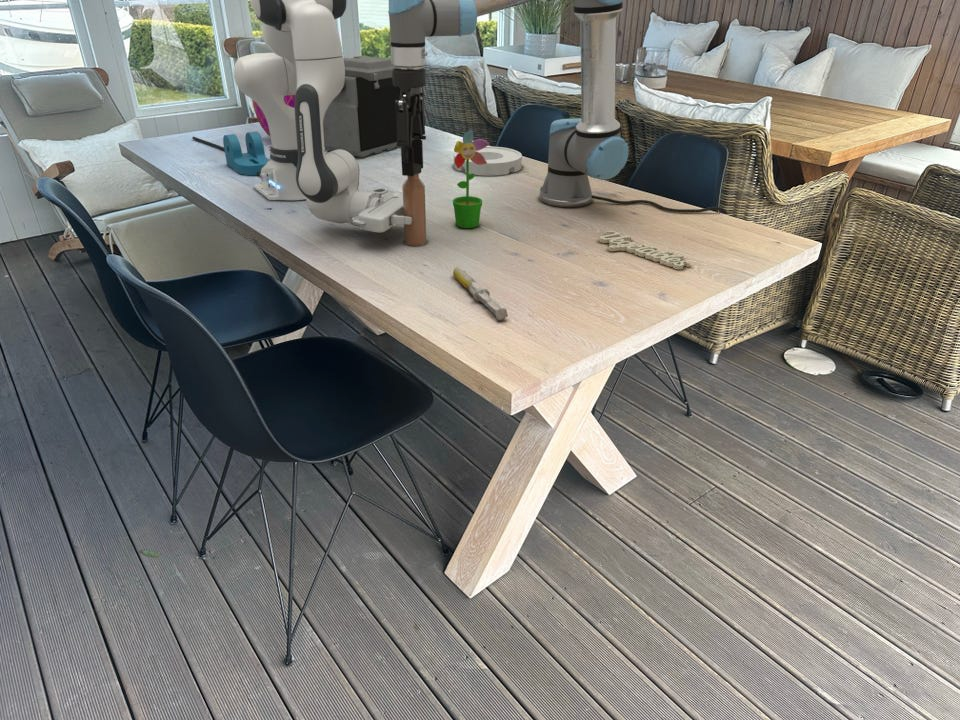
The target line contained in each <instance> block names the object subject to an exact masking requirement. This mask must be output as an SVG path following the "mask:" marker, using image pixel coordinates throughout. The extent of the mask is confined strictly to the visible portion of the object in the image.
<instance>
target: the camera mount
mask: <svg viewBox="0 0 960 720" xmlns="http://www.w3.org/2000/svg"><path fill="white" fill-rule="evenodd" d="M222 140H223V141H222V143H223V147H224V150H225V151H224V150H223V151H224V156H225V161H226V165H227V166H228V167H230V168H231V169H232V170H234V171H236V172H237V173H238V174H239V175H244V176H258V175H257V172H260V173H261V169H262V168H263V167H264V166H265V165H266V164H267V162H268V161H269V160H270V158H268V157H267V156H266V153H265V145H264V141H263V139H262V136H261V134H260V132H258V131H247V132H246V133H245V146H246V152H243V151H242V150H243V149H242V146H241V142H240V140H239V138H238V135H236V134H235V133H231V134H224V135H223V138H222Z"/></svg>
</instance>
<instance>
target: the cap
mask: <svg viewBox="0 0 960 720" xmlns="http://www.w3.org/2000/svg"><path fill="white" fill-rule="evenodd" d="M421 173H422V169H421V165H420V164H416V163H414V174H419V175H420V174H421Z"/></svg>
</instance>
